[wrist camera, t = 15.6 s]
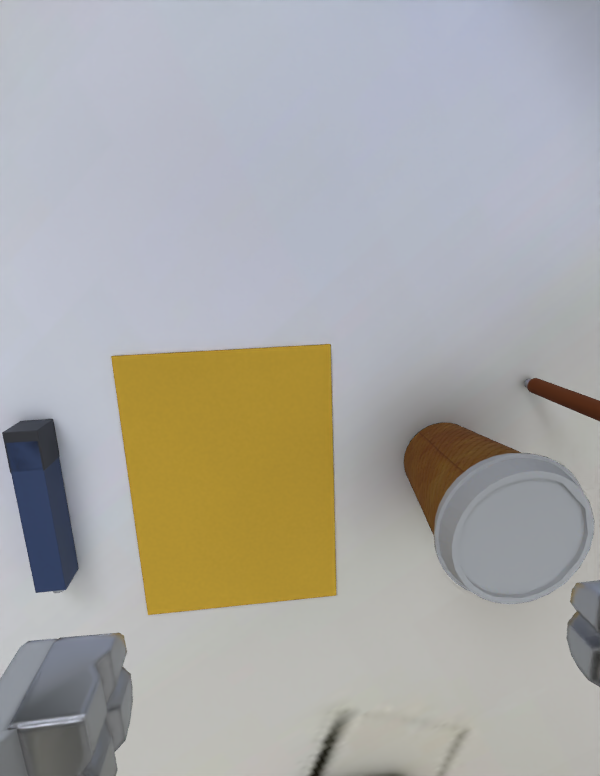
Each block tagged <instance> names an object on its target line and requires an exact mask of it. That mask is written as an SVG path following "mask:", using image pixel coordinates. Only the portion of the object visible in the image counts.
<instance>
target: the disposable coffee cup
mask: <svg viewBox="0 0 600 776" xmlns="http://www.w3.org/2000/svg"><path fill="white" fill-rule="evenodd" d="M404 468H405V472H406V475H407V477H408V479H409V481H410V484H411V486H412V488H413V490H414V492H415V495H416V497H417V499H418V502H419V504H420V506H421V508H422V510H423V512H424V515H425V517H426V519H427V521H428V524H429V526H430V528H431V530H432V532H433V535H434V543H435V549H436V553H437V556H438V559H439V561H440V563H441V565H442V567H443V569H444V570H445V572H446V573H447V575H448V576H449V577H450V578H451V579H452V580H453V581H454V582H455V583H456V584H458V585H460V586H461V587H463V588H464V589H466V590H468V591H471V592H473V593H474V594H476V595H478V596H479V597H481V598H483V599H485V600H489V601H492V602H496V603H503V604H518V603H524V602H529V601H533V600H535V599H538V598H540V597H543V596H545V595H548V594H550V593H551V592H553V591H554V590H556V589H557V588H559V587H560V586H562V585H563V584H565V583H566V582H567V581H568V580H569V578H570V577H571V576H572V575H573V574H574V573H575V572H576V571H577V570H578V569H579V568H580V566H581V564H582V562H583V561H584V559H585V557H586V555H587V553H588V552H589V550H590V546H591V542H592V539H593V535H594V518H593V513H592V509H591V506H590V502H589V500H588V499H587V497H586V496H585V494H584V492H583V490H582V488H581V486H580V484H579V482H578V480H577V479H576V478H575V477H574V475H573V474H572V473H571V472H570V471H569V470H568V469H566V468H565V467H564V466H563V465H561V464H560V463H558V462H556V461H555V460H552V459H550V458H548V457H545V456H540V455H535V454H530V453H521V452H519V451H516V450H514V449H512V448H509V447H507V446H505V445H503V444H500V443H498V442H496V441H493V440H491V439H489V438H487V437H484V436H482V435H479V434H477V433H475V432H473V431H470V430H468V429H466V428H464V427H461V426H459V425H457V424H453V423H438V424H433V425H430V426H428V427H426V428H424V429H423V430H421V431H420V432H419V433H418V434H417V435H415V436H414V438H413V439H412V440H411V441H410V443H409V445H408V447H407V449H406V452H405V456H404Z"/></svg>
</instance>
